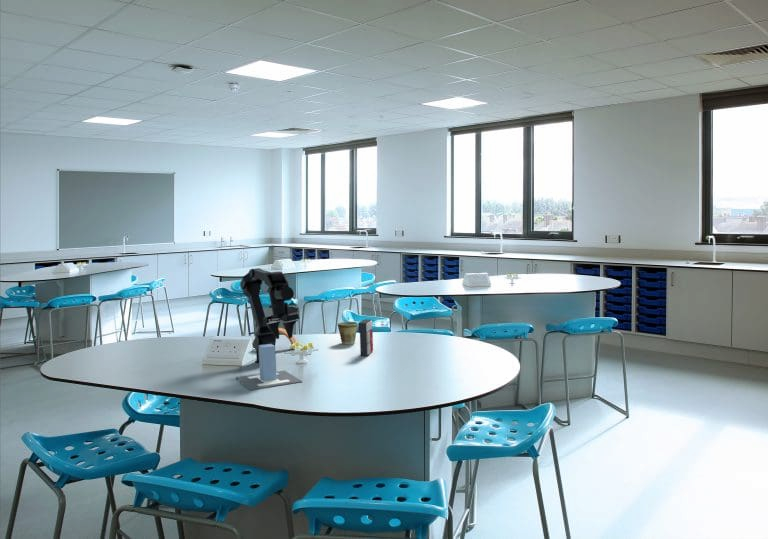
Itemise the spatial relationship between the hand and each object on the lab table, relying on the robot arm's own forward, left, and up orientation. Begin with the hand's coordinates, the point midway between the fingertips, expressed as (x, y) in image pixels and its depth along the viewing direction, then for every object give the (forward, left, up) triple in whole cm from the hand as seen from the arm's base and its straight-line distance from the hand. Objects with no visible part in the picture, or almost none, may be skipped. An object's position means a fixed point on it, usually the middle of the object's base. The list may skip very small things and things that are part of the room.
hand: (284, 338), depth 250 cm
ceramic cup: (+9, +54, -13) cm, 56 cm away
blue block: (+3, -20, -12) cm, 24 cm away
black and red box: (+26, +31, -13) cm, 42 cm away
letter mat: (+3, -20, -12) cm, 24 cm away
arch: (-22, +35, -13) cm, 43 cm away
